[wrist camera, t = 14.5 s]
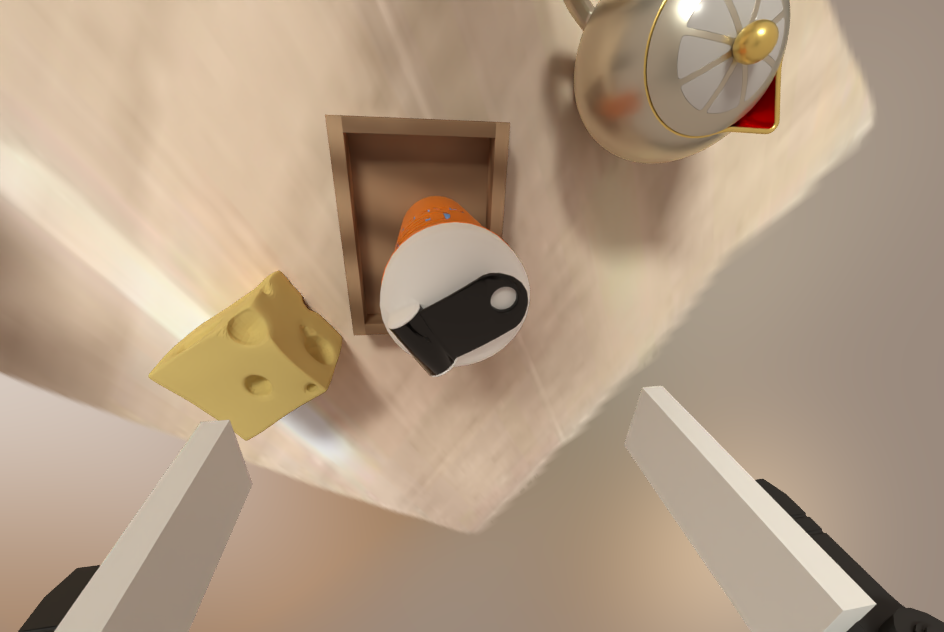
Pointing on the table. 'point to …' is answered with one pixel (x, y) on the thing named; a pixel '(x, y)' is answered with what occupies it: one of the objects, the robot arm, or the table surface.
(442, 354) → the shaker bottle
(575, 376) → the table surface
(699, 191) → the table surface
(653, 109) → the teapot
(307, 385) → the cheese
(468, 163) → the tray
